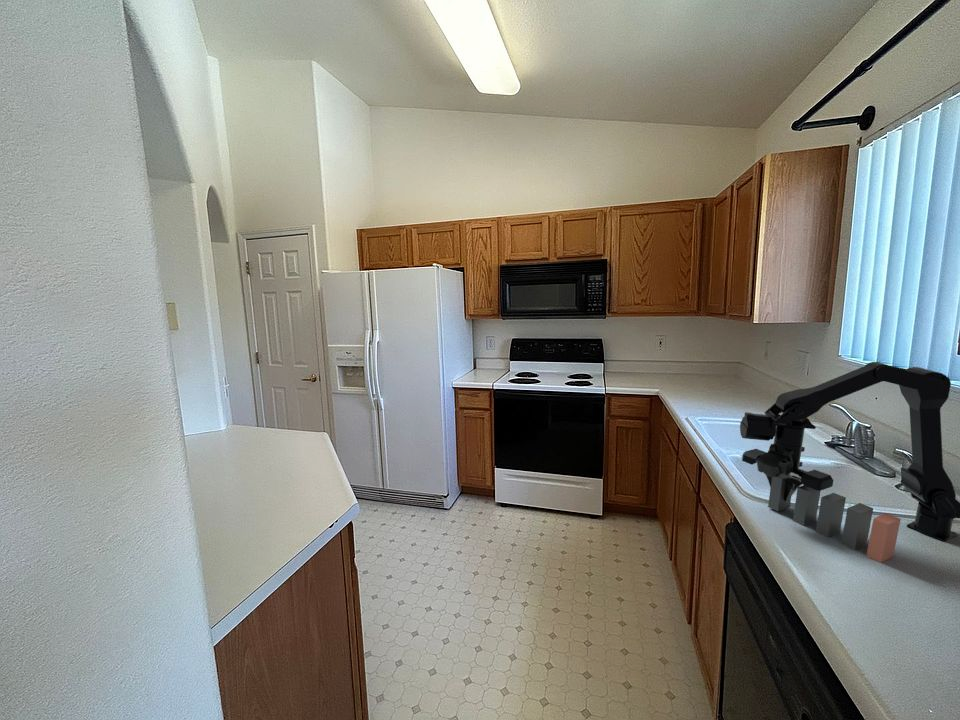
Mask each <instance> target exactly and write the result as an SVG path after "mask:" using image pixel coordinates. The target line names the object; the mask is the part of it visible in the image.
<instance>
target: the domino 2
mask: <svg viewBox="0 0 960 720" xmlns="http://www.w3.org/2000/svg"><path fill="white" fill-rule="evenodd" d="M820 499H821V491H818V490H814V489H812V488H809V487H807V486H804V485H800V486H799V487H798V488H797V490H796V496H795V504H794V508H793V509H794V511H793V517H792V521H793V522H795V523H796V524H797V523H798V524H799V525H801V526H807V525H809V524H811V523H814V522H816V521H817V518H818V516H817V515H818V511H819V505H820V504H819V503H820Z"/></svg>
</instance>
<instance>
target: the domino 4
mask: <svg viewBox="0 0 960 720" xmlns="http://www.w3.org/2000/svg"><path fill="white" fill-rule="evenodd" d="M873 511H874V507H871V506H869V505H866V504H863V503H862V502H860V503H857V504H854V505H851V506H848V507H847V509H846V515H845V520H844V525H843V526H844V527H843V531H842V537H841V542H840V543H841V545H843V546H845V547H847V548H848V549H851V550H853V551H856V550H858V549H860V548H862V547H864V546H866V545H867V544H868V538H869V536H870V535H869V534H870V530H871V529H870V528H871V525H872V524H871V523H872V520H873Z"/></svg>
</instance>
